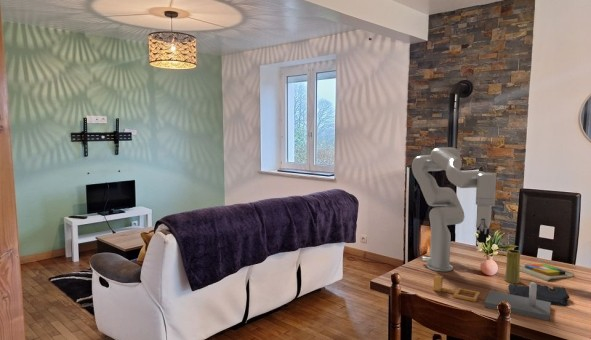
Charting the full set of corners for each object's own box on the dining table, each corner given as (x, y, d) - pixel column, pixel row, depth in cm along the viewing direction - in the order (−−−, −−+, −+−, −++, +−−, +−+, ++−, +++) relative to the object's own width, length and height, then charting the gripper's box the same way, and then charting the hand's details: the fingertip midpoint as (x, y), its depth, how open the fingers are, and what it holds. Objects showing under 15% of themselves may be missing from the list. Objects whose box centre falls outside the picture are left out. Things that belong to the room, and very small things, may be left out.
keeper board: (484, 306, 163) (485, 279, 162) (489, 294, 175) (491, 269, 174) (548, 320, 151) (550, 291, 150) (550, 307, 163) (552, 279, 162)
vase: (521, 284, 187) (523, 253, 186) (506, 283, 188) (508, 252, 187) (517, 279, 193) (518, 249, 191) (503, 278, 194) (504, 248, 193)
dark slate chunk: (506, 287, 184) (506, 276, 184) (563, 294, 177) (563, 283, 176) (510, 300, 170) (511, 289, 170) (572, 308, 162) (573, 297, 162)
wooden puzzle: (575, 277, 197) (575, 270, 196) (547, 282, 190) (548, 275, 189) (541, 266, 213) (542, 259, 212) (515, 270, 206) (515, 264, 206)
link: (431, 292, 177) (432, 279, 177) (437, 286, 185) (437, 273, 184) (475, 302, 167) (476, 288, 167) (479, 294, 175) (480, 281, 174)
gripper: (478, 197, 187) (476, 234, 189) (473, 203, 172) (471, 243, 174) (496, 199, 183) (494, 236, 185) (492, 205, 168) (490, 246, 170)
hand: (483, 240), depth 179 cm, fingers open, 9 cm apart
